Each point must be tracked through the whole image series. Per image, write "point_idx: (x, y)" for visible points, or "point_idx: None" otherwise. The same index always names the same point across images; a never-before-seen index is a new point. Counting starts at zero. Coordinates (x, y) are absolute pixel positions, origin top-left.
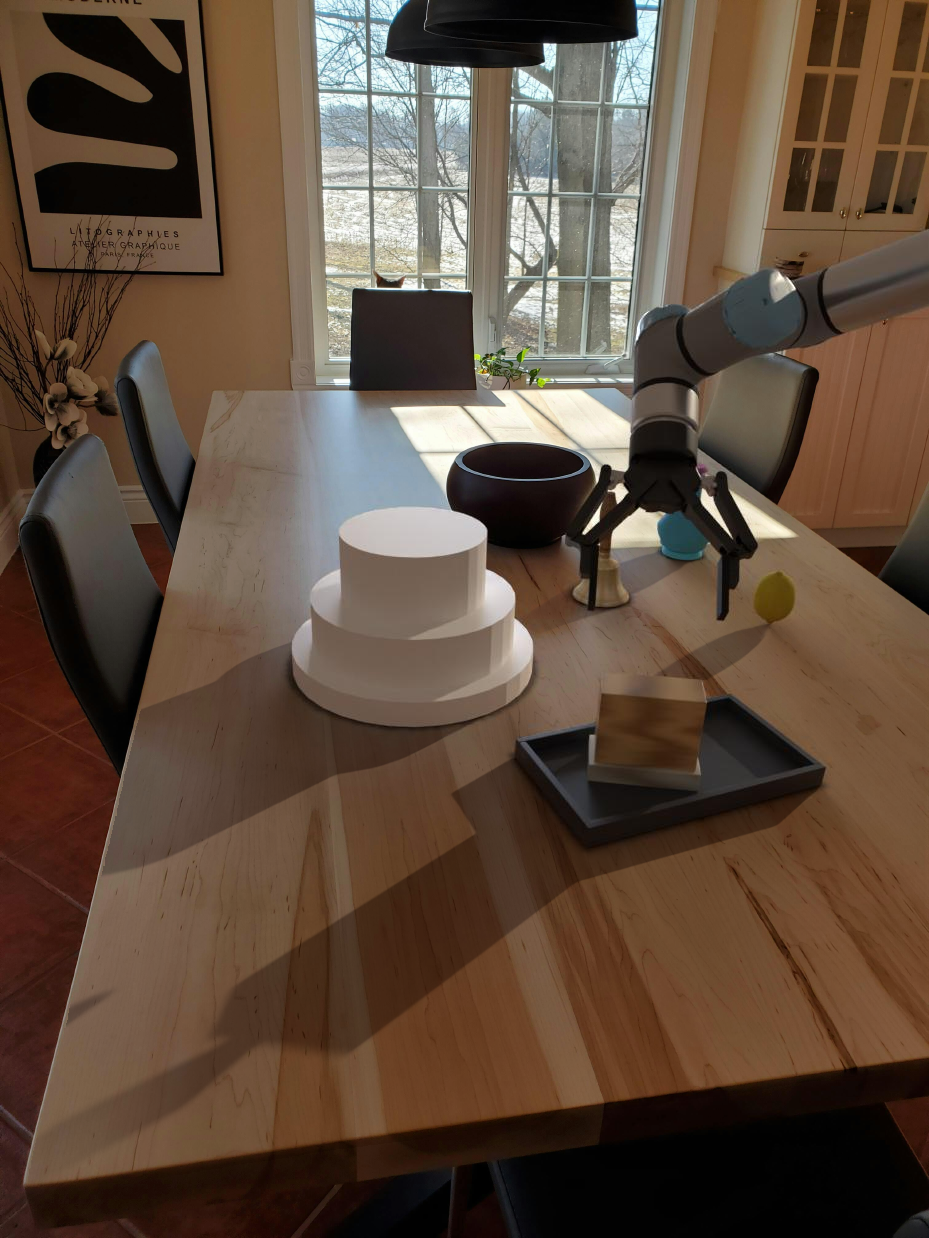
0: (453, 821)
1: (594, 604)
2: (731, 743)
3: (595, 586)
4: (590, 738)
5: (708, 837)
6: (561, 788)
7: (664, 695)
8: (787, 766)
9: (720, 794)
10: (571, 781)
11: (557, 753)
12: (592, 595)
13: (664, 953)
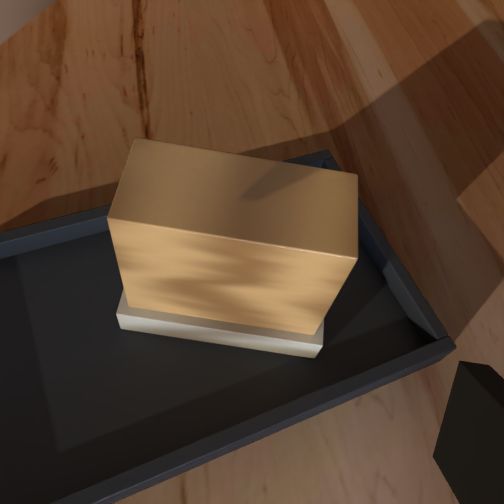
0: (489, 218)
1: (455, 384)
2: (12, 388)
3: (500, 400)
4: (321, 332)
5: None
6: (366, 218)
7: (221, 161)
8: None
9: None
10: None
11: (369, 348)
12: (488, 378)
13: (254, 59)
